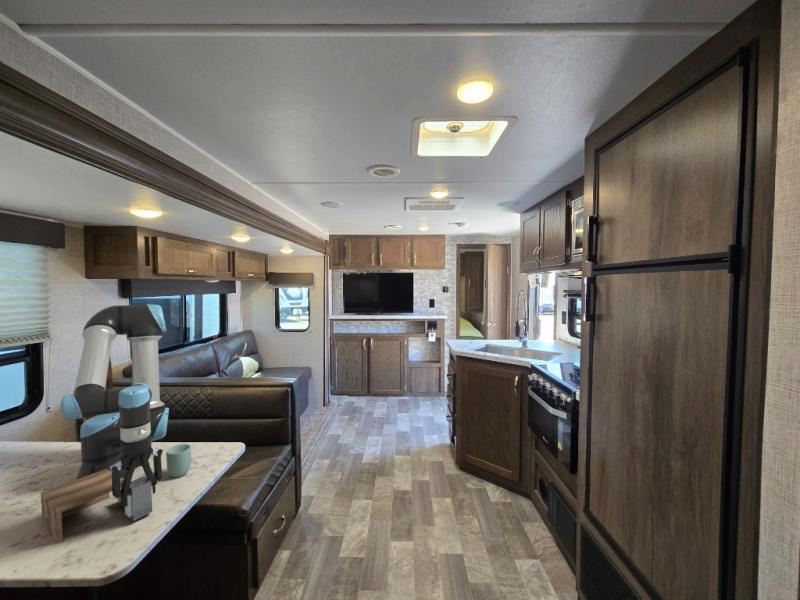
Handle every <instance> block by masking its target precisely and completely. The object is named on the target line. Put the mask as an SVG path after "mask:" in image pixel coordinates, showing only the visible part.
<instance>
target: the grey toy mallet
mask: <svg viewBox="0 0 800 600" xmlns="http://www.w3.org/2000/svg"><path fill="white" fill-rule="evenodd" d="M128 493H129V494H130V495H131V509H132V516H130V517H128V518H129V519H131V520H132V522H135V521H137V520H139V519H141V518H143V517H145V516H146V515H149V514H150V513H153V506H152V492H151V481H150V480H149V479H147V477H146V476H141V477H138V478H136V479H134V480H131V483H130V488H129V492H128ZM117 503H119V504H120V505H121V497H120V498H117Z"/></svg>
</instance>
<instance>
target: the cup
mask: <svg viewBox="0 0 800 600" xmlns="http://www.w3.org/2000/svg"><path fill="white" fill-rule="evenodd" d="M165 452H166V453H165V454H166V455H165V457H166V458H165V459H166V460H165V461H166V469H167V473H168V475H169V476H170V477H172V478H181V477H182V476H183V477H184V476H185V475H186V474H188V472H189V471H190V469H191V465H192V447H191V445H190V444H188V443H187V444H186V443H183V444H182V443H181V444H177V445H174V446H171V447H170V448H168V449H167V450H166V451H165Z"/></svg>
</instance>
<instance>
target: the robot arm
mask: <svg viewBox="0 0 800 600" xmlns="http://www.w3.org/2000/svg"><path fill="white" fill-rule="evenodd" d="M164 316H165V315H164V312H163V307H162V306H161V305H159V304H152V303H151V304H149V303H147V304H146V303H145V304H126V305H120V304H119V305H111V306H108V307H104V308H103V309H101V310H99V311H98V312H96V313H94V315H93V316H91V317H90V318H89V320H87V322H86V323H85V326H84V327H83V329H82V334H81V336H82V339H83V340H84V342H83V347H82V352H81V356H80V362H79V366H78V370H77V375H76V378H75V379H76V380H75V384H74V390H73V393H71V394H66V395H64V396H63V397H62V398H61V400H60V406H59V407H60V409H59V410H60V416H61V417H62V419H63V420H66V421H67V420H69V421H70V420H78V419H81V420H82V419H83V418H85V417H91V416H95V417H92V418H90V419H88V420H87V421H85V422H84V421H83V423H82V424H81V425H80V434H79V439H80V452H81V465H80V467H79V470H78V473H77V476H76V478H75V480H77V479H80V478H83V477H86V476H88V475H91V474H94V473H96V472H99V471H102V470H104V469H108V470H110V471H111V472H112V491H111V493H112V496H113V497H114V498H115V499H118V498H120V497H121V504H120V505H121V506H122V508H124V513H125V515H126V516H127V517H128V518H129V517H130V516H132V509H131V495H130V494H129V493H128V492H129V488H130V483H131V481H132V479H133V475H134V473H135V470H136V469H137V468H139V467H142V470H143V472H144V474H145V477H146V478H147V479H149V480H150V481H151V492H152V507H153V506H154V494H155V493H156V492H157V491H156V486H157V484H158V482H159V481H160V480H162V478H163V472H162V471H163V470H162V469H163V468H162V454H163V451H164V450H163V449H161V448H160V447H156V448H153V447H152V442H154V441H157V440H161V439H163V438H164V437H165V436H166V435H167V428H168V422H169V421H168V420H169V410H170V408H169V407H166V406H165V403H164V402H162V401H161V397H160V396H161V395H160V394H161V393H160V392H161V391H160V370H159V369H160V367H159V366H160V363H159V362H160V361H159V360H160V359H159V340H161V338H163V333H166V332H167V328H166V320H165V317H164ZM125 335H126V340H127V341H128V342H130V343H131V368H132V369H131V371H132V373H131V374H132V375H131V377H132V384H131V385H129V386H125V387H120V388H113V389H111V390H105V386H106V379H107V372H108V366H109V359H111V350H112V344H113V342H114V340H115V339H116V338H117V336H125ZM151 456H152V460H153V461H152V462H153V471H154V472H153V471H152V467H151V463H150V461H149V459H150V458H151ZM120 478H121V479H122V480H123V482H122V486H121V488H120Z"/></svg>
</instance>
